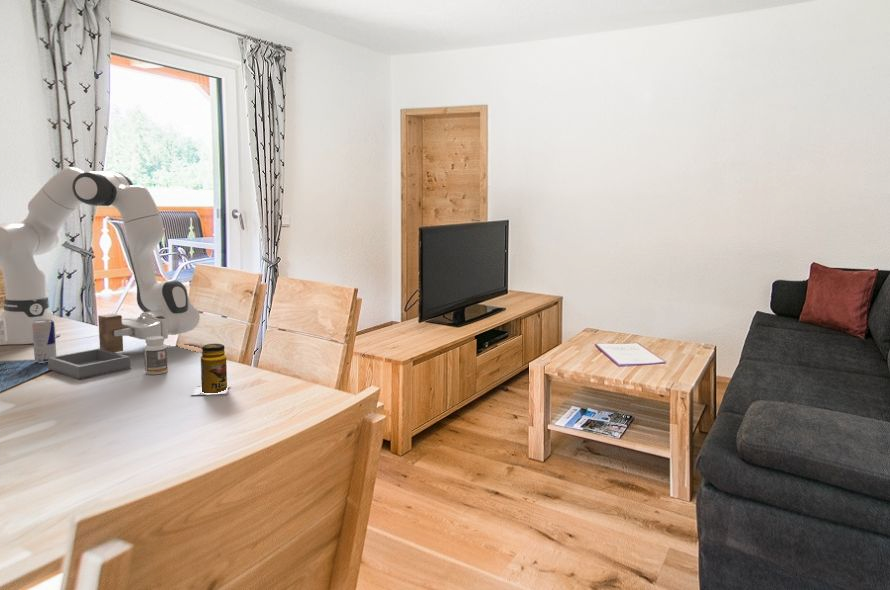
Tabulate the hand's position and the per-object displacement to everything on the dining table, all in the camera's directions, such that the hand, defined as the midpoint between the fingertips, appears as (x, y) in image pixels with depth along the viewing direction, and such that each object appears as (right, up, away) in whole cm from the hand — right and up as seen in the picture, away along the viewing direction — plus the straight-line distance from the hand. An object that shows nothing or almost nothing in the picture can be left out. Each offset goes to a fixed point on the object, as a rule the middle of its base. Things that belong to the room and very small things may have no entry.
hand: (107, 332), depth 179 cm
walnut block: (0, -6, +2) cm, 6 cm away
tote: (+2, -10, -12) cm, 15 cm away
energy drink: (-15, -9, -5) cm, 18 cm away
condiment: (+42, -14, -28) cm, 52 cm away
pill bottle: (+21, -11, -13) cm, 27 cm away
